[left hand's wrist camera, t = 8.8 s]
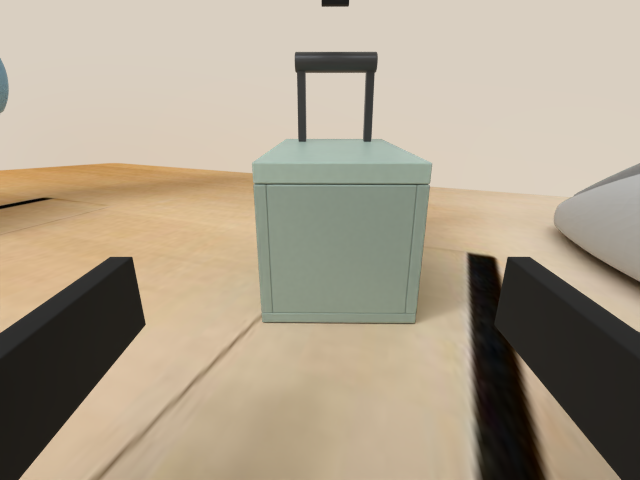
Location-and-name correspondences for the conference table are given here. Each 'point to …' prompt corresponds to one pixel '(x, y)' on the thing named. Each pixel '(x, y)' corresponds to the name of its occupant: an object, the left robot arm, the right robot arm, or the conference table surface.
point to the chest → (340, 251)
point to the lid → (338, 154)
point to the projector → (606, 220)
